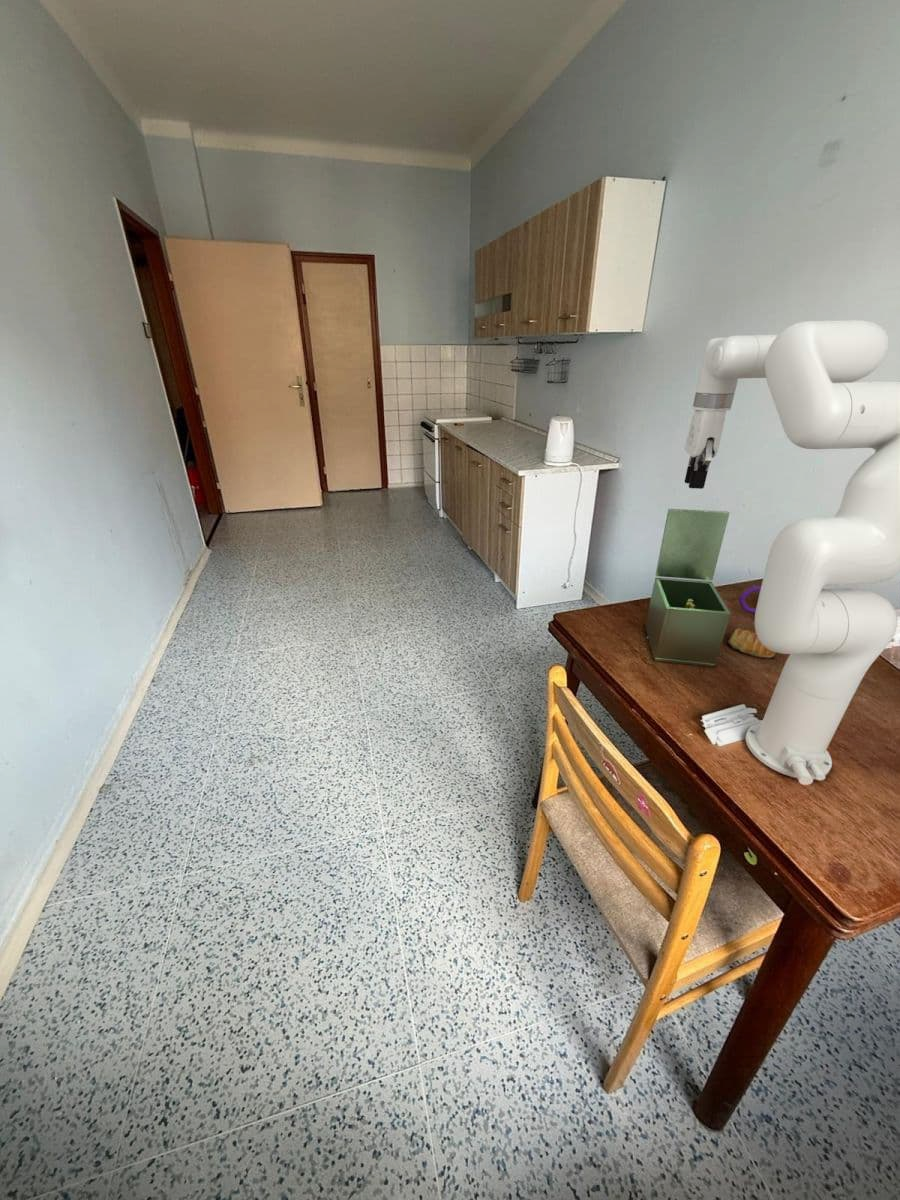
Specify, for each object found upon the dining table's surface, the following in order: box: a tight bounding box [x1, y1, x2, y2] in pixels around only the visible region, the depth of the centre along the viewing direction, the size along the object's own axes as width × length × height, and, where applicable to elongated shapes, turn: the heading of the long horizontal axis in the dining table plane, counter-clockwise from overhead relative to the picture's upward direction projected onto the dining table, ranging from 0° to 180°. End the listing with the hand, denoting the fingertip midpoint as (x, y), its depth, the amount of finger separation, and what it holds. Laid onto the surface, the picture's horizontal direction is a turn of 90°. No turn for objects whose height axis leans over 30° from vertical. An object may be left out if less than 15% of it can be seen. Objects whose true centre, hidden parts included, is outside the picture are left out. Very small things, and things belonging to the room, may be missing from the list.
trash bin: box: [644, 577, 731, 668], centre depth 110 cm, size 16×13×14 cm
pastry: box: [727, 627, 776, 658], centre depth 110 cm, size 9×7×4 cm
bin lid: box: [655, 508, 730, 581], centre depth 109 cm, size 16×13×1 cm
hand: (693, 484), depth 111 cm, fingers open, 3 cm apart
